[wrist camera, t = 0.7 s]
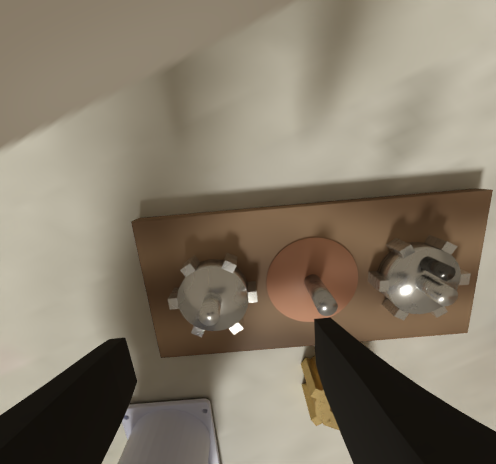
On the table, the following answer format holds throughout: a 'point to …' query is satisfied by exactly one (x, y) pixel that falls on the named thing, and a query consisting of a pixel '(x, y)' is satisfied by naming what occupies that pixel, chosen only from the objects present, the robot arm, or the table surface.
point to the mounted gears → (384, 280)
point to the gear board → (309, 266)
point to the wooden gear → (316, 395)
